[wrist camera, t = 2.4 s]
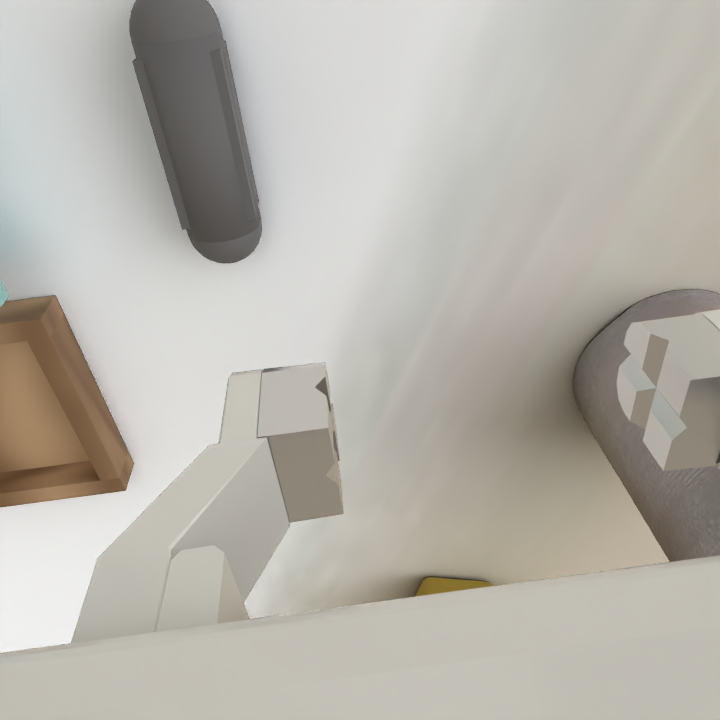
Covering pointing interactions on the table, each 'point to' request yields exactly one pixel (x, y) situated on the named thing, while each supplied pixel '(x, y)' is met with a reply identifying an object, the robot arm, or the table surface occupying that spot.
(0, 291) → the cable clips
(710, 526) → the pillar candle
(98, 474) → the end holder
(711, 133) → the table surface
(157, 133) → the grey rounded bar
